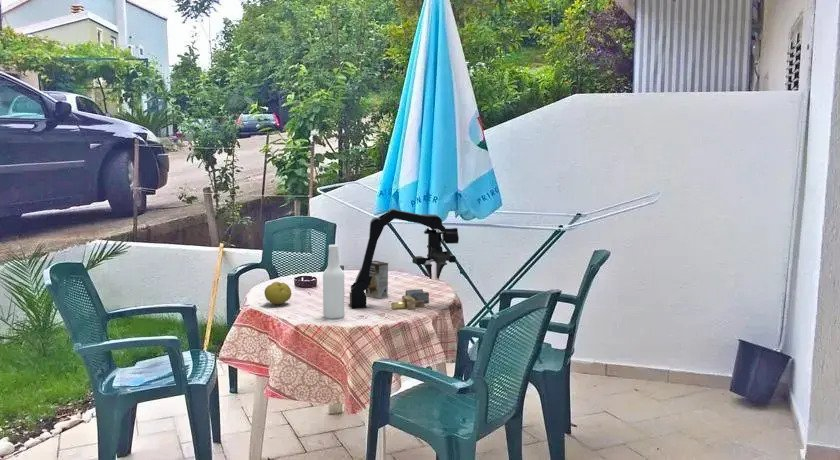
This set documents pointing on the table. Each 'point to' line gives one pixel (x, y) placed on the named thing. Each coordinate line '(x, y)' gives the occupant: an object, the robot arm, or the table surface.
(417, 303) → the block
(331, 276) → the alcohol
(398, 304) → the axle
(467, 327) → the table surface
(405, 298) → the bearing block
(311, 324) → the table surface
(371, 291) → the coffee box
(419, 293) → the v block
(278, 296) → the fruit
